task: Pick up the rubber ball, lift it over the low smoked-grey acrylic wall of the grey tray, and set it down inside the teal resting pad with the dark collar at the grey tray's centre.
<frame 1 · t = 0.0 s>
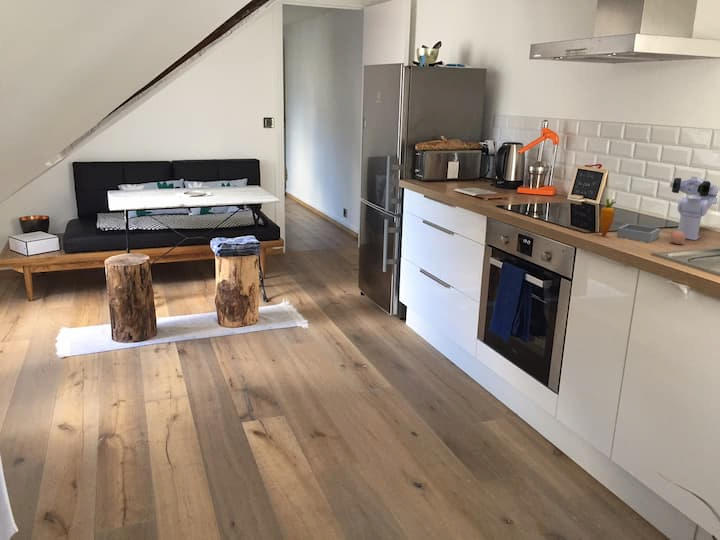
hand: (687, 187, 219), 22 cm above the table, tool horizontal, fingers open, 7 cm apart
ball: (677, 237, 226), point 2 cm above the table
grey tray: (637, 237, 235), on the table
carrot: (603, 236, 234), on the table
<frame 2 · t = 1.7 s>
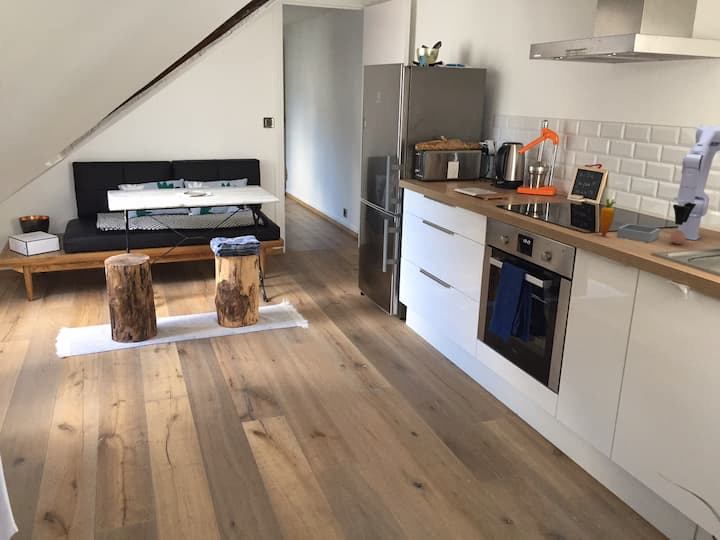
hand: (680, 223, 225), 8 cm above the table, tool pointing down, fingers open, 7 cm apart
nothing on the table moved.
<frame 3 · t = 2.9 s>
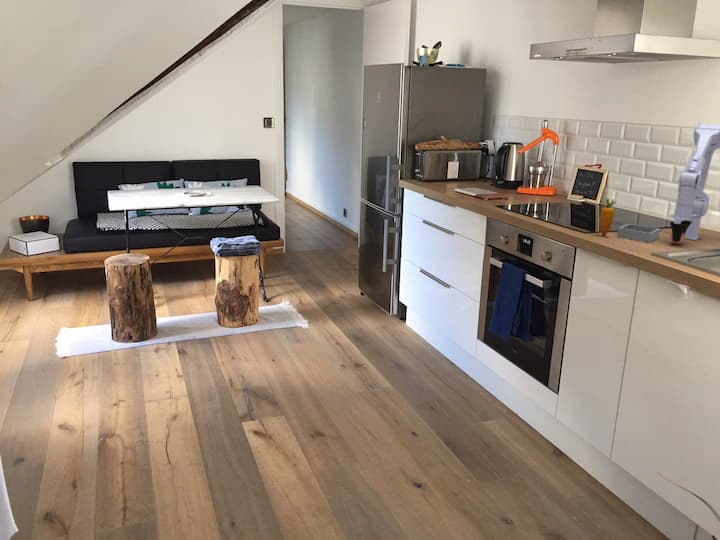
hand: (677, 240, 226), 1 cm above the table, tool pointing down, fingers closed on ball, 5 cm apart
ball: (677, 237, 226), point 2 cm above the table, touching gripper
everything else where it was.
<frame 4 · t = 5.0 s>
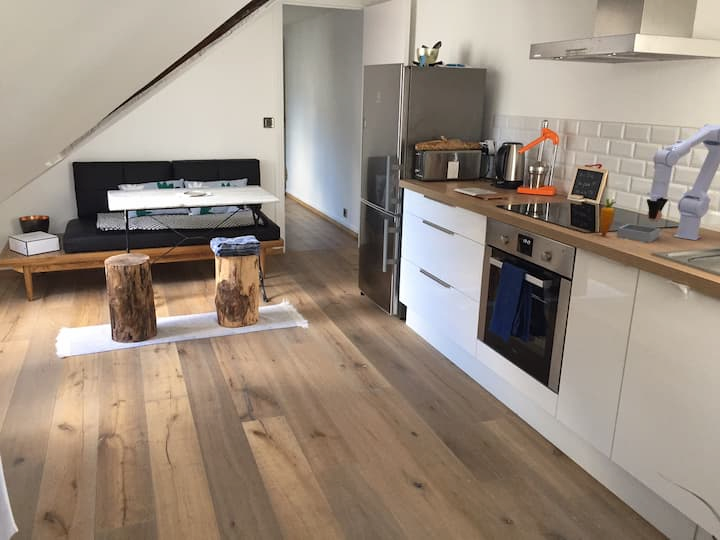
hand: (654, 217, 230), 8 cm above the table, tool pointing down, fingers closed on ball, 5 cm apart
ball: (654, 215, 230), point 10 cm above the table, touching gripper
everything else where it was.
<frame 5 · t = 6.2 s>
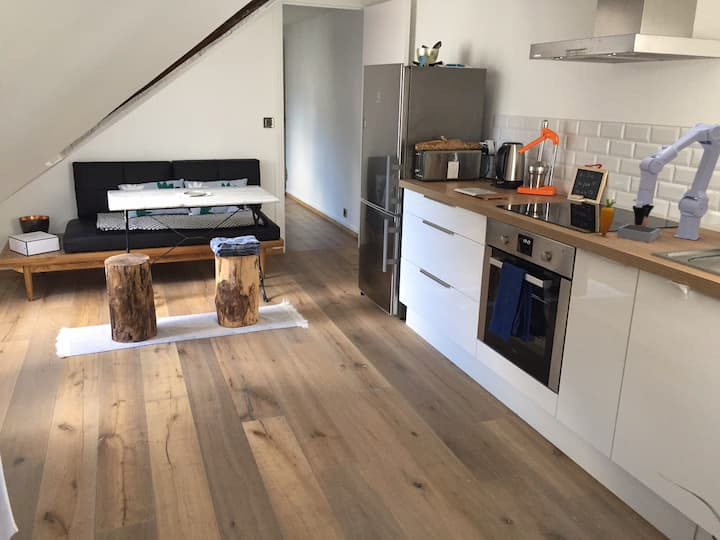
hand: (640, 224, 234), 5 cm above the table, tool pointing down, fingers closed on ball, 5 cm apart
ball: (640, 221, 233), point 6 cm above the table, touching gripper
everything else where it was.
when the fingers open (3 cm above the table, at t = 7.3 s): ball stays where it is, resting on grey tray.
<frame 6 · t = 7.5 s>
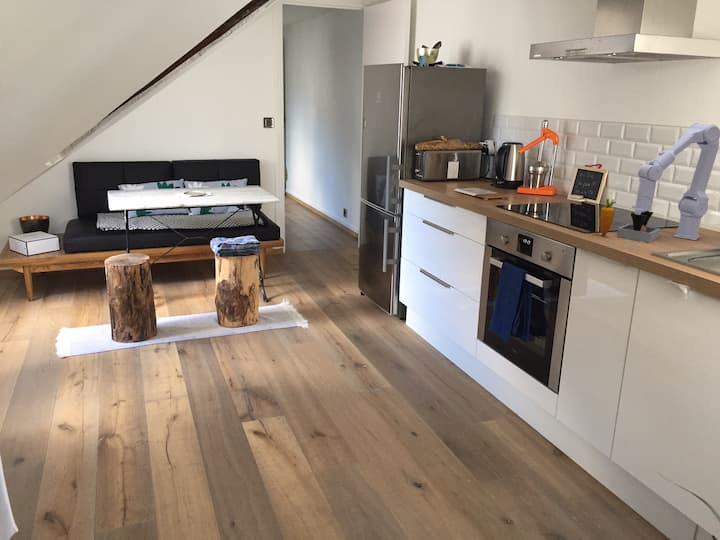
hand: (638, 230, 234), 3 cm above the table, tool pointing down, fingers open, 6 cm apart
ball: (639, 230, 234), point 3 cm above the table, touching grey tray
everything else where it was.
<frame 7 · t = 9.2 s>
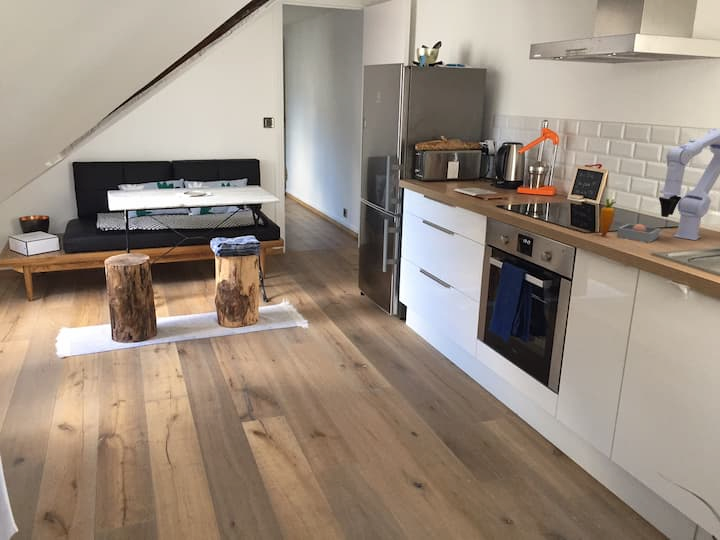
hand: (666, 215, 231), 9 cm above the table, tool pointing down, fingers open, 7 cm apart
nothing on the table moved.
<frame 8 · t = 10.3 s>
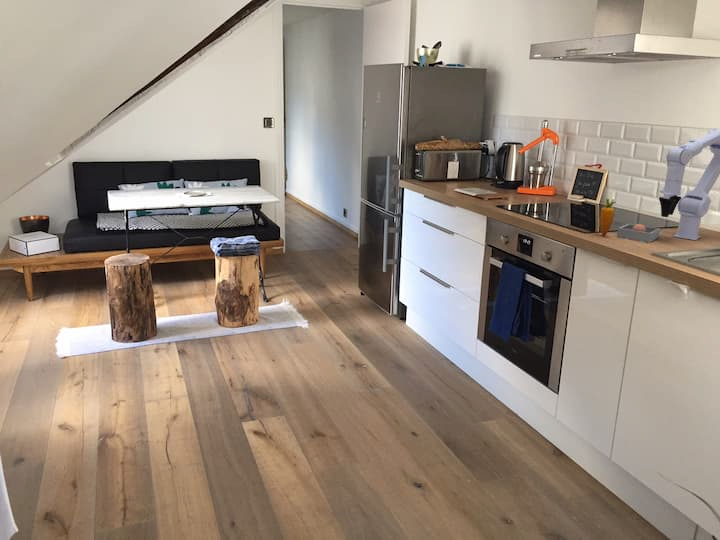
hand: (666, 215, 231), 9 cm above the table, tool pointing down, fingers open, 7 cm apart
nothing on the table moved.
at the end: ball 0.0 cm off-centre on the grey tray, point 2.7 cm above the grey tray's base; the gripper is holding nothing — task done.
